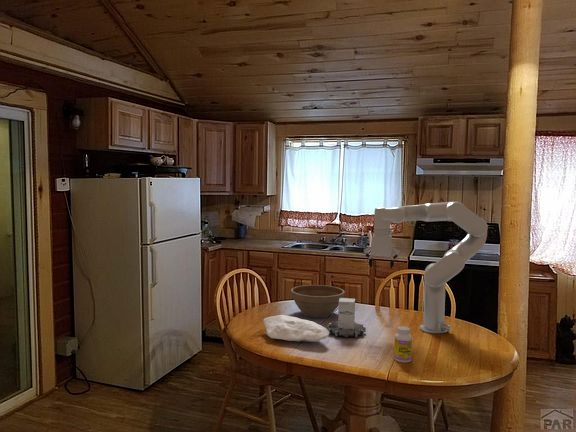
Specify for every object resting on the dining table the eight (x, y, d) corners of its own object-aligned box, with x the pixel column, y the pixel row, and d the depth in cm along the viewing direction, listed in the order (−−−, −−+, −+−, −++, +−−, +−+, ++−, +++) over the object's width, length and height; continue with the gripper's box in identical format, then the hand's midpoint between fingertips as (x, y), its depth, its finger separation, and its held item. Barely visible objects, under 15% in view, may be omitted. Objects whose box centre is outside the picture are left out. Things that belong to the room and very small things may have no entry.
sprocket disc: (364, 325, 226) (364, 313, 226) (366, 338, 209) (367, 324, 208) (326, 324, 228) (326, 312, 228) (326, 336, 210) (326, 323, 210)
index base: (353, 332, 218) (353, 330, 218) (346, 335, 215) (346, 333, 215) (330, 325, 229) (330, 323, 229) (323, 327, 225) (323, 325, 225)
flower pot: (316, 304, 269) (316, 281, 268) (355, 315, 248) (355, 290, 247) (279, 313, 250) (279, 289, 249) (318, 325, 229) (318, 299, 228)
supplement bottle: (396, 363, 182) (396, 330, 181) (392, 356, 188) (393, 325, 187) (413, 363, 182) (414, 330, 181) (409, 356, 188) (409, 325, 187)
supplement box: (337, 328, 215) (338, 301, 214) (339, 323, 222) (339, 297, 221) (353, 329, 213) (354, 302, 213) (354, 324, 221) (355, 298, 220)
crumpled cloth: (283, 321, 231) (281, 303, 229) (344, 335, 210) (343, 316, 208) (251, 341, 213) (249, 322, 211) (315, 358, 192) (313, 337, 190)
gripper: (400, 232, 229) (399, 267, 231) (365, 231, 234) (364, 265, 236) (399, 234, 222) (398, 269, 223) (363, 232, 227) (362, 267, 229)
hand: (381, 267), depth 230 cm, fingers open, 9 cm apart
